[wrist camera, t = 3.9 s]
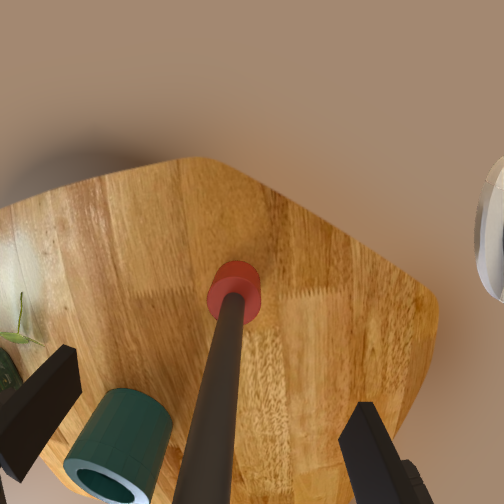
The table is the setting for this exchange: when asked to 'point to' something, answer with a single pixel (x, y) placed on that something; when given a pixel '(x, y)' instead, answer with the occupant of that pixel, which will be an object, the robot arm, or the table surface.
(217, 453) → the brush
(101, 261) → the table surface
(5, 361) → the coffee jar
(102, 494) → the cup
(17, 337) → the seedling
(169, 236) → the table surface
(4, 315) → the table surface
